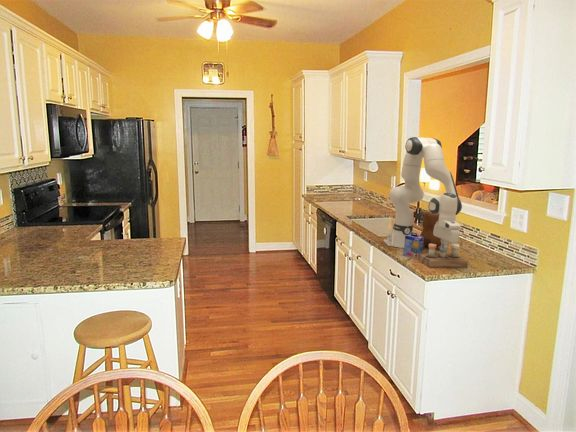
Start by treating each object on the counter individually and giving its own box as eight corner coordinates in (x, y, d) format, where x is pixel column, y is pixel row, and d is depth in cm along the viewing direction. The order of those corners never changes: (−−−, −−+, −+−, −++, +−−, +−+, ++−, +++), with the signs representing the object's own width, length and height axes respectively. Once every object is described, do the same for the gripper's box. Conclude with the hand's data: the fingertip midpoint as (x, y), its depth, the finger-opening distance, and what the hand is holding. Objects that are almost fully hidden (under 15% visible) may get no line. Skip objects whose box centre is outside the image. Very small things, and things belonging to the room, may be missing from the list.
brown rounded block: (438, 246, 285) (442, 209, 280) (443, 251, 272) (448, 212, 267) (417, 245, 286) (420, 207, 282) (421, 249, 273) (425, 210, 269)
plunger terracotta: (426, 255, 241) (427, 243, 240) (432, 255, 242) (434, 243, 240) (429, 257, 237) (431, 245, 236) (436, 257, 238) (437, 245, 237)
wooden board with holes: (417, 260, 246) (418, 253, 245) (452, 260, 250) (453, 253, 250) (430, 267, 232) (431, 260, 232) (467, 267, 237) (467, 260, 236)
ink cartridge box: (402, 255, 257) (405, 231, 254) (406, 253, 261) (409, 230, 259) (418, 258, 251) (421, 234, 248) (422, 257, 255) (425, 233, 253)
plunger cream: (448, 255, 244) (450, 243, 242) (455, 255, 244) (456, 243, 243) (452, 257, 240) (454, 245, 239) (459, 257, 241) (460, 245, 239)
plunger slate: (437, 258, 242) (438, 246, 241) (443, 258, 243) (445, 246, 242) (441, 260, 239) (442, 248, 237) (447, 260, 239) (449, 248, 238)
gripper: (431, 219, 247) (429, 243, 249) (451, 226, 227) (449, 251, 229) (441, 219, 248) (439, 243, 250) (462, 226, 228) (459, 251, 231)
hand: (444, 247), depth 240 cm, fingers closed, pressing on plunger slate
